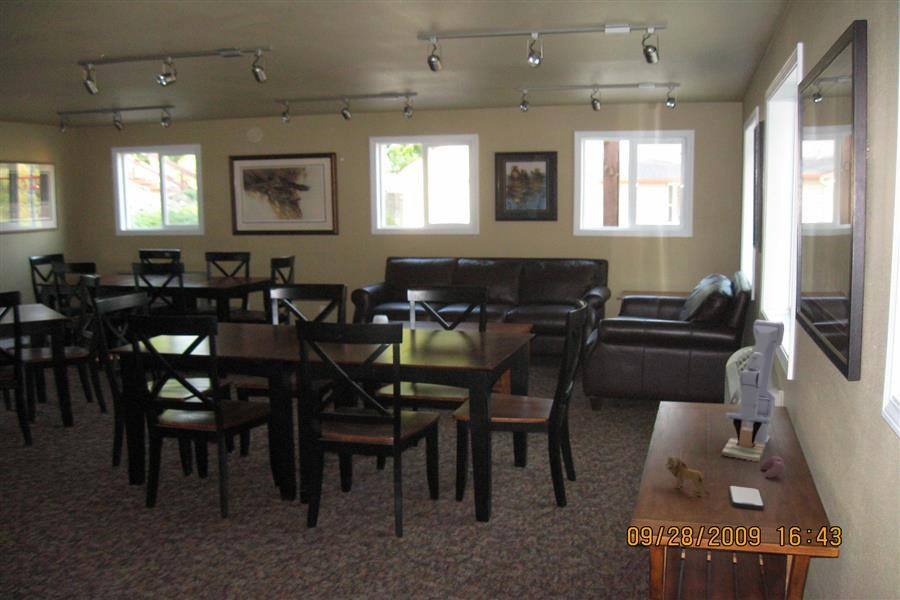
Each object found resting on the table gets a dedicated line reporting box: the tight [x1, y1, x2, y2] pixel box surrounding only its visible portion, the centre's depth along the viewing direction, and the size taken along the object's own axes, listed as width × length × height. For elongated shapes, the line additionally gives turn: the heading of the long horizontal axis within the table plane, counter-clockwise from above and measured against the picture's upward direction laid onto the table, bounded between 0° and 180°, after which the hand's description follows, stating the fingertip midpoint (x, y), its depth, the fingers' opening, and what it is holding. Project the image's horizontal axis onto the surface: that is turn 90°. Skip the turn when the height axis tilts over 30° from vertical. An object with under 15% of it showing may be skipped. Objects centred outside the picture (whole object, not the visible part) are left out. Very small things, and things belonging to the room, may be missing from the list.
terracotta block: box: [738, 426, 753, 448], centre depth 289 cm, size 4×4×7 cm
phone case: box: [728, 485, 765, 511], centre depth 239 cm, size 9×2×16 cm
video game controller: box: [759, 455, 785, 479], centre depth 262 cm, size 10×5×7 cm, turn 169°
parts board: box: [721, 437, 767, 462], centre depth 286 cm, size 20×12×2 cm, turn 153°
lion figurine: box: [665, 455, 711, 497], centre depth 244 cm, size 15×5×9 cm, turn 44°
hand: (746, 441), depth 289 cm, fingers closed on terracotta block, 4 cm apart
